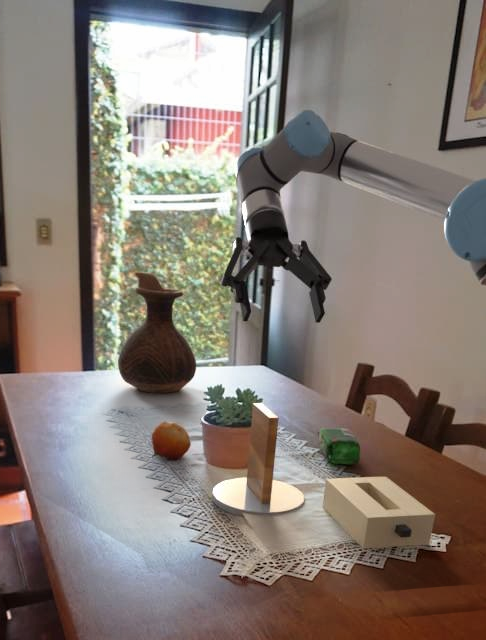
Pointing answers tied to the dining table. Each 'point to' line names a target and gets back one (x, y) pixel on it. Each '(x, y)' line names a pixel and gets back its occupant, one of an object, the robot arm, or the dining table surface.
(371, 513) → the toaster
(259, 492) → the toast
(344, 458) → the snack package
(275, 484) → the plate
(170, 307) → the jug
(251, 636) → the dining table surface
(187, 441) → the fruit
